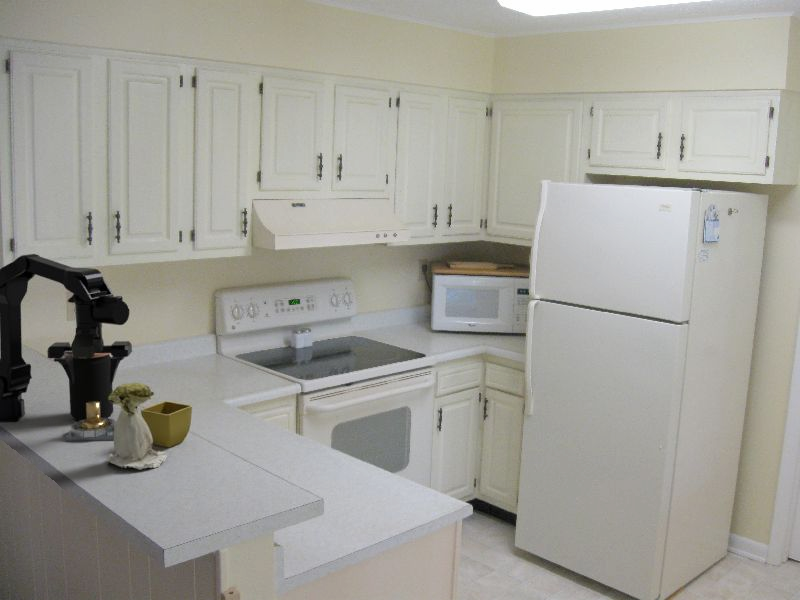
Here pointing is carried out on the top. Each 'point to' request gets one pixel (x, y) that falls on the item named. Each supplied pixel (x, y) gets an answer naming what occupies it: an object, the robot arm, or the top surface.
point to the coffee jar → (91, 385)
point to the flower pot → (168, 422)
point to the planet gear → (93, 417)
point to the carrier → (91, 432)
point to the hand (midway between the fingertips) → (92, 383)
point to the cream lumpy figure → (133, 429)
